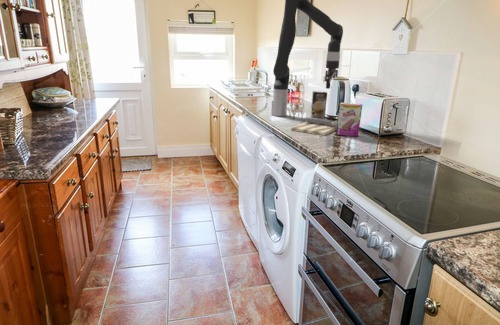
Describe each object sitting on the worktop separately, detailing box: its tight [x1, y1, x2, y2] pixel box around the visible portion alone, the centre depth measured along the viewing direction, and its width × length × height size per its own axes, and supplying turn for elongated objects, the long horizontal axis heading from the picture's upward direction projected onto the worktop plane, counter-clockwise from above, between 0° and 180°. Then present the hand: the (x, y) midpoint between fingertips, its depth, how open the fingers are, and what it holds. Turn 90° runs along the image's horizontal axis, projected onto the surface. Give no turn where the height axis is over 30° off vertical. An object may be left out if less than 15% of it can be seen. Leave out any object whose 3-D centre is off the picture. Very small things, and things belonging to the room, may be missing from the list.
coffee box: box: [309, 90, 328, 119], centre depth 223 cm, size 9×6×16 cm
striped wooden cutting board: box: [290, 121, 337, 136], centre depth 191 cm, size 20×25×2 cm
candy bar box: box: [335, 102, 363, 138], centre depth 176 cm, size 11×5×16 cm, turn 71°
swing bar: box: [304, 117, 338, 126], centre depth 194 cm, size 19×4×2 cm, turn 56°
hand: (330, 87), depth 208 cm, fingers open, 8 cm apart
